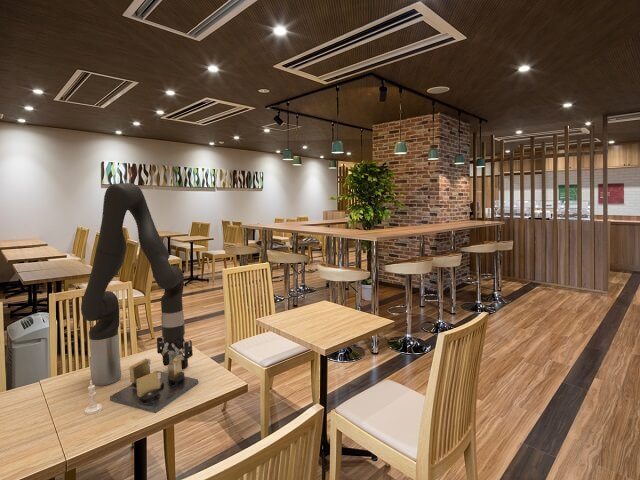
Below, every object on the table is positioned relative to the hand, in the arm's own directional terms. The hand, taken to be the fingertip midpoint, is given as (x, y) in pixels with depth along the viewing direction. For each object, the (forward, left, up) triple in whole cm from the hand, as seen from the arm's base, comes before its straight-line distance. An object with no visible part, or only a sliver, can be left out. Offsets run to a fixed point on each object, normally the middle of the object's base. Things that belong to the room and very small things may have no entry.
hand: (175, 366), depth 133 cm
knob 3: (0, 0, -5) cm, 5 cm away
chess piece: (-13, -22, -7) cm, 27 cm away
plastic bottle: (-9, +10, -7) cm, 15 cm away
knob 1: (-10, -6, -5) cm, 13 cm away
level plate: (-3, -6, -7) cm, 10 cm away
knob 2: (0, -12, -5) cm, 13 cm away
